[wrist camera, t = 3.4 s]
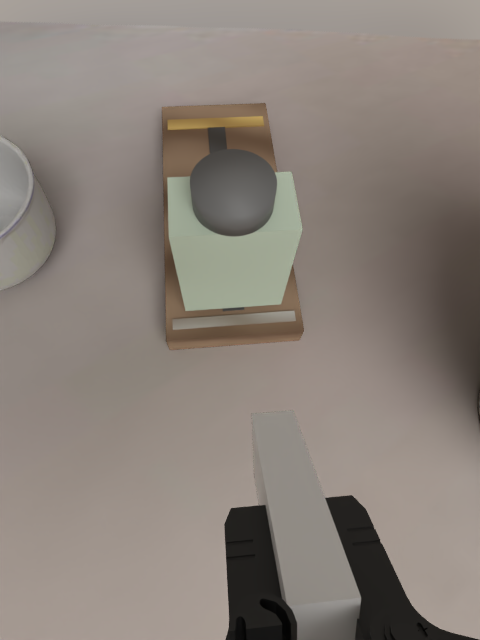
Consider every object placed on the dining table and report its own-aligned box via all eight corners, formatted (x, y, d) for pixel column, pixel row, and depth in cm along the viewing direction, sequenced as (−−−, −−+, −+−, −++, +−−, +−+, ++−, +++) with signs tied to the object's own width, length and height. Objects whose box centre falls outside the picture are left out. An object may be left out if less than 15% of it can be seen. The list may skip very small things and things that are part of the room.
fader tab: (281, 306, 29) (309, 212, 19) (185, 313, 28) (164, 220, 19) (273, 256, 30) (295, 146, 21) (183, 261, 30) (163, 151, 20)
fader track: (299, 340, 30) (304, 329, 28) (169, 350, 30) (165, 340, 28) (263, 121, 40) (265, 102, 38) (165, 124, 39) (161, 105, 37)
